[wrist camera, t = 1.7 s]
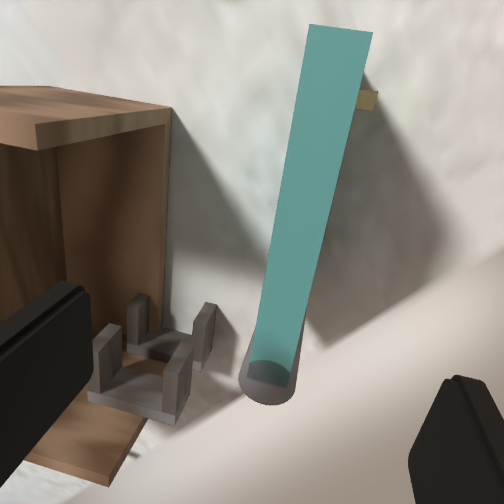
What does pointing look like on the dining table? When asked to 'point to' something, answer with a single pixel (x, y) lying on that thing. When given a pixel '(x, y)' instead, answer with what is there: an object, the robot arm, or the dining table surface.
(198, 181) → the dining table surface
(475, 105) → the dining table surface
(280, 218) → the door
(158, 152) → the cabinet
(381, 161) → the dining table surface
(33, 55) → the dining table surface
